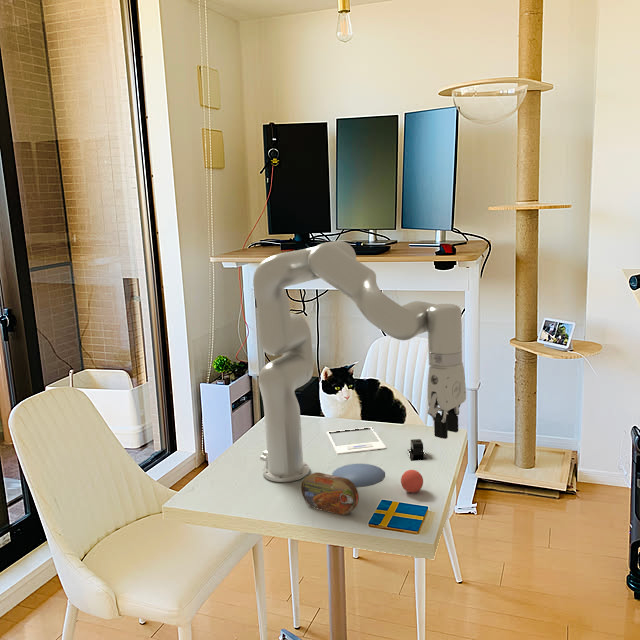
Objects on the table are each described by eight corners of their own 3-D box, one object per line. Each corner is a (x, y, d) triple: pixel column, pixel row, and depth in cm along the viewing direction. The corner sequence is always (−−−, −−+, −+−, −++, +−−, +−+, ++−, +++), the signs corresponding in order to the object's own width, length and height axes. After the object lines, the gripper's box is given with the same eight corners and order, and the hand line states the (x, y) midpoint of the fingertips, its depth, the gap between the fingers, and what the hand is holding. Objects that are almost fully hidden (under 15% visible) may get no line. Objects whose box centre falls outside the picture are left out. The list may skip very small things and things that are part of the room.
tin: (301, 504, 158) (299, 472, 157) (308, 499, 161) (306, 467, 159) (354, 519, 150) (352, 484, 148) (361, 513, 152) (359, 479, 151)
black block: (434, 464, 178) (433, 449, 178) (407, 466, 178) (407, 450, 177) (425, 447, 191) (424, 433, 190) (400, 449, 190) (399, 434, 190)
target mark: (321, 477, 172) (321, 477, 172) (354, 460, 183) (353, 459, 183) (363, 491, 163) (363, 490, 163) (395, 472, 173) (395, 471, 173)
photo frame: (337, 452, 187) (326, 431, 205) (337, 456, 188) (326, 434, 205) (386, 446, 190) (371, 426, 207) (386, 450, 190) (371, 429, 207)
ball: (396, 492, 162) (396, 471, 161) (409, 484, 166) (408, 464, 165) (415, 498, 158) (415, 477, 157) (427, 490, 162) (427, 469, 161)
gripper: (440, 368, 140) (441, 449, 143) (477, 352, 152) (478, 426, 156) (411, 364, 145) (413, 442, 148) (449, 348, 157) (450, 421, 161)
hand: (446, 433), depth 152 cm, fingers open, 4 cm apart
